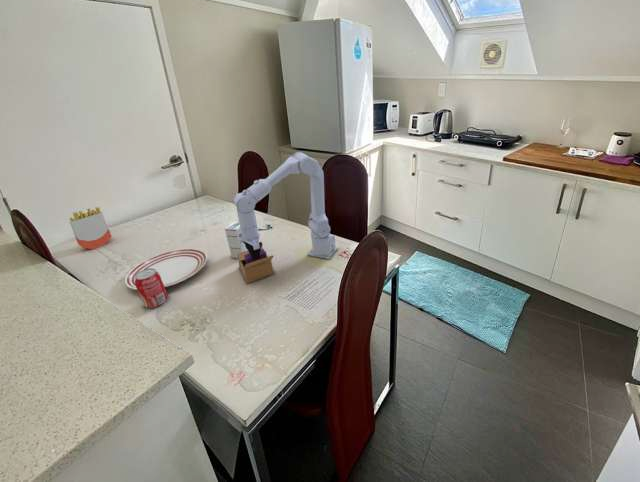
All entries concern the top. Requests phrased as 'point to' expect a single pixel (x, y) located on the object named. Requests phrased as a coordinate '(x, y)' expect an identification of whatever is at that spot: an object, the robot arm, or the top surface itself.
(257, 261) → the bin flap
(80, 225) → the french fries container
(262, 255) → the purple yarn skein
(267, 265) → the bin
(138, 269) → the dinner plate
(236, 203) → the robot arm
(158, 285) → the soda can
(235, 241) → the syrup box
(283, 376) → the top surface
